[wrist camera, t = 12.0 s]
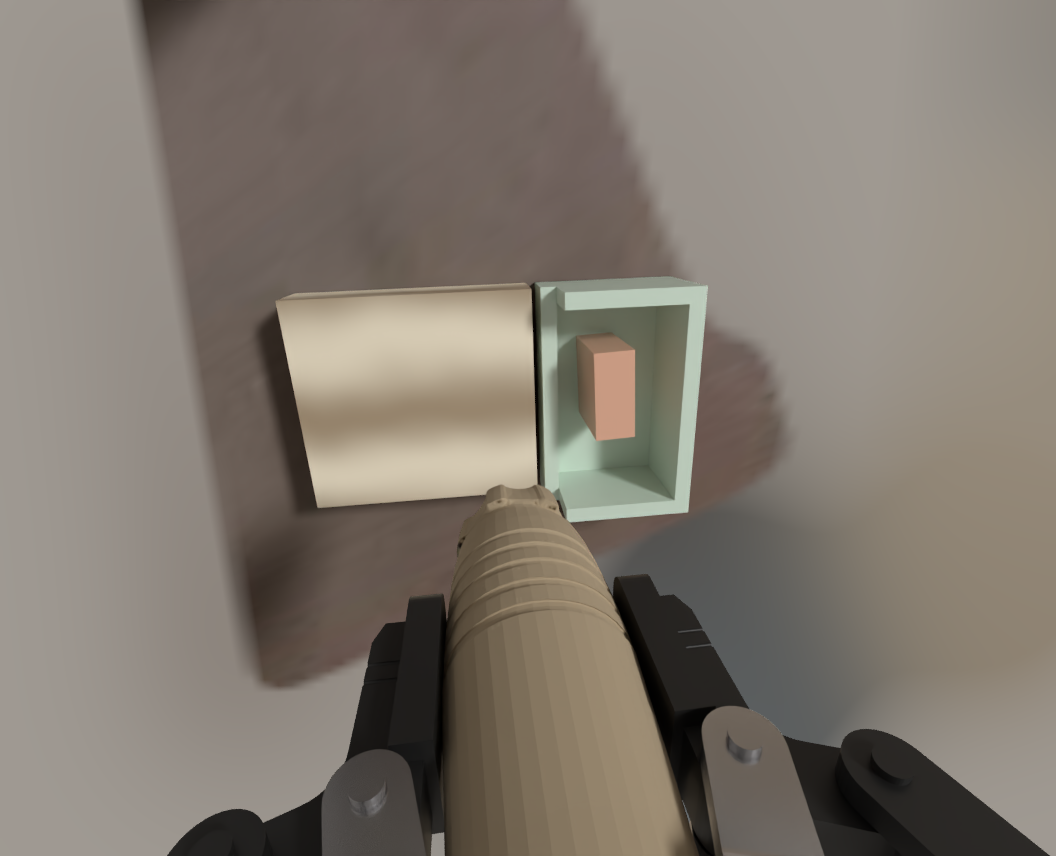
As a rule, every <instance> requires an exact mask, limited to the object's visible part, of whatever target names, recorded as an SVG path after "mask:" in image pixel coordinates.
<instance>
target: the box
mask: <svg viewBox="0 0 1056 856" xmlns="http://www.w3.org/2000/svg"><path fill="white" fill-rule="evenodd" d="M534 283H535V318H536V354H537V389H538V425H539V460H540V483H541V486H543V487H545V488H547V489H548V490H550V491H551V493H552V494H553V495H554V497H555V499H556V500H559V501H560V504H561V507H562V510H563V513H564V516H565V519H566V520H568V521H569V522H579V521H591V520H603V519H614V518H626V517H638V516H649V515H661V514H673V513H684V512H688V506H689V495H690V484H691V472H692V461H693V450H694V438H695V427H696V416H697V404H698V393H699V381H700V370H701V359H702V347H703V336H704V325H705V313H706V302H707V291H708V286H707V285H703V284H699V283H695V282H691V281H687V280H683V279H679V278H674V277H670V276H665V277H643V278H621V279H599V280H577V281H555V282H534ZM608 332H612V333H613V334H614V335H616V336H617V337H618V338H620V339H621V340H623V341H624V342H625V343H627V344H628V345H629V346H631V347H632V348H633V349H635V437H628V438H619V439H610V440H601V441H596V440H595V438H594V436H593V435H592V433H591V431H590V430H589V428H588V426H587V425H586V423H585V421H584V420H583V418H582V416H581V415H580V413H579V402H578V377H577V352H576V335H587V334H597V333H608Z"/></svg>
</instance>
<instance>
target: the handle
mask: <svg viewBox="0 0 1056 856" xmlns="http://www.w3.org/2000/svg"><path fill="white" fill-rule="evenodd" d="M457 557H458V559H457V562H456V566H455V570H454V575H453V581H452V586H451V594H450V602H449V610H448V618H447V627H446V638H445V653H444V655H445V658H444V670H443V688H442V742H443V791H444V839H445V856H699V853H698V850H697V847H696V844H695V841H694V837H693V834H692V831H691V828H690V825H689V821H688V818H687V815H686V812H685V809H684V805H683V802H682V799H681V796H680V792H679V789H678V786H677V783H676V780H675V776H674V773H673V770H672V767H671V764H670V760H669V757H668V754H667V751H666V748H665V744H664V741H663V738H662V735H661V732H660V728H659V725H658V722H657V719H656V716H655V712H654V709H653V706H652V703H651V700H650V696H649V693H648V690H647V687H646V683H645V680H644V677H643V674H642V671H641V667H640V664H639V661H638V658H637V655H636V652H635V651H634V648H633V645H632V642H631V640H630V637H629V635H628V632H627V630H626V627H625V625H624V623H623V620H622V617H621V615H620V612H619V610H618V607H617V605H616V603H615V601H614V598H613V596H612V594H611V592H610V590H609V588H608V586H607V584H606V582H605V579H604V577H603V575H602V573H601V571H600V569H599V567H598V566H597V563H596V562H595V560H594V558H593V556H592V554H591V553H590V551H589V549H588V548H587V546H586V544H585V542H584V541H583V539H582V538H581V537H580V535H579V534H578V533H577V531H576V530H575V529H574V527H573V526H572V525H571V524H570V522H569V521H568V520H566V519H565V518H563V517H562V515H561V513H560V511H559V505H558V503H557V501H556V499H555V497H554V495H553V494H552V493H551V491H550V490H548V489H547V488H545V487H543V486H540V485H533V486H532V487H529V488H525V489H513V488H508V487H505V486H504V485H501V484H500V485H497V486H495V487H492V488H491V489H489V490H488V491H487V492H486V498H485V501H484V503H483V504H482V506H481V508H480V509H479V510H478V512H477V513H476V514H475V515H474V516H473V517H470V518H468V519H466V520H465V521H464V523H463V526H462V529H461V531H460V535H459V541H458V547H457Z"/></svg>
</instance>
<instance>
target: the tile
mask: <svg viewBox="0 0 1056 856" xmlns="http://www.w3.org/2000/svg"><path fill="white" fill-rule="evenodd" d="M576 352H577V377H578V402H579V413H580V415H581V416H582V418H583V420H584V421H585V423H586V425H587V426H588V428H589V430H590V431H591V433H592V435H593V436H594V438H595V440H596V441H601V440H610V439H619V438H628V437H635V349H633V348H632V347H631V346H629V345H628V344H627V343H625V342H624V341H623V340H621V339H620V338H618V337H617V336H616V335H614V334H613V333H612V332H608V333H597V334H587V335H576Z"/></svg>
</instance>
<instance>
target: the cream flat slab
mask: <svg viewBox="0 0 1056 856" xmlns="http://www.w3.org/2000/svg"><path fill="white" fill-rule="evenodd" d="M276 306H277V311H278V316H279V321H280V326H281V331H282V336H283V340H284V345H285V350H286V355H287V360H288V365H289V370H290V375H291V380H292V385H293V389H294V394H295V399H296V404H297V409H298V414H299V419H300V424H301V429H302V433H303V438H304V443H305V448H306V453H307V458H308V463H309V468H310V473H311V478H312V482H313V487H314V492H315V497H316V502H317V507H318V508H324V507H337V506H349V505H362V504H374V503H387V502H399V501H412V500H424V499H437V498H449V497H462V496H474V495H486V492H487V491H488V490H489V489H491V488H492V487H495V486H497V485H500V484H501V485H504V486H505V487H508V488H513V489H525V488H529V487H532V486H533V485H537V455H536V422H535V389H534V356H533V323H532V290H531V288H530V287H529V286H528V285H527V284H526V283H511V284H489V285H467V286H446V287H424V288H402V289H380V290H358V291H336V292H314V293H295V294H292V295H290V296H287V297H284V298H282V299H279V300H277V301H276Z"/></svg>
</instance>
